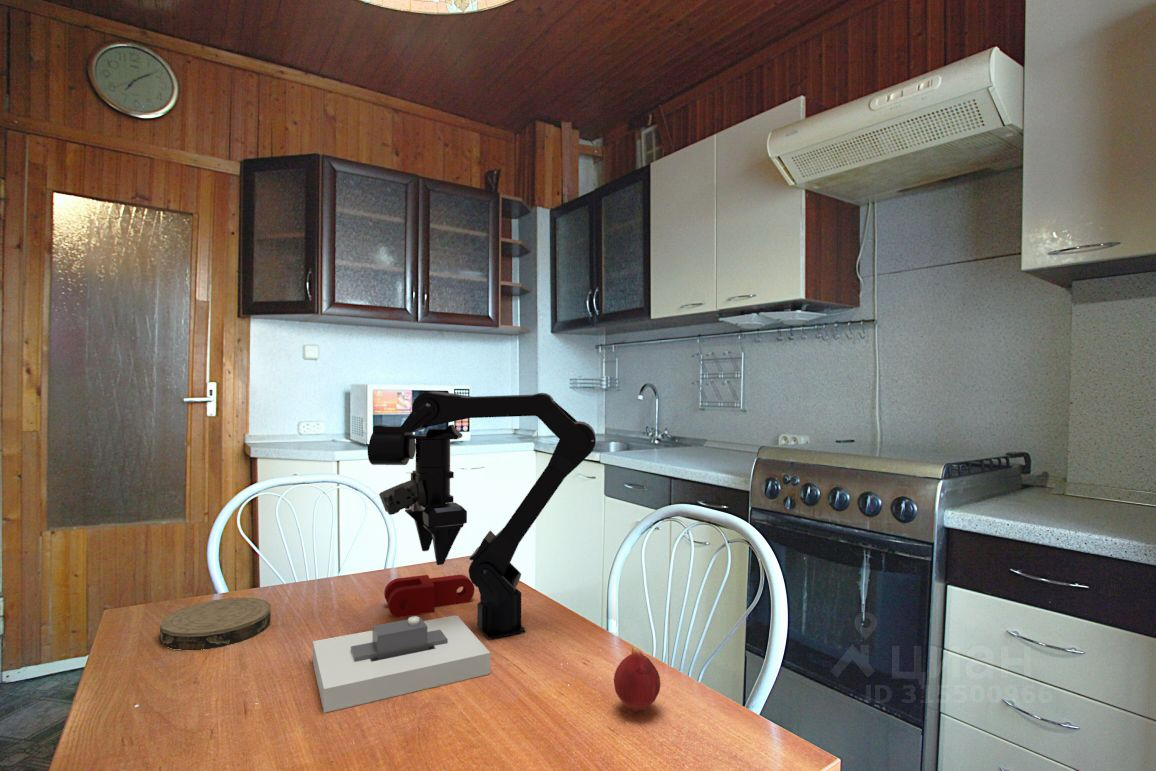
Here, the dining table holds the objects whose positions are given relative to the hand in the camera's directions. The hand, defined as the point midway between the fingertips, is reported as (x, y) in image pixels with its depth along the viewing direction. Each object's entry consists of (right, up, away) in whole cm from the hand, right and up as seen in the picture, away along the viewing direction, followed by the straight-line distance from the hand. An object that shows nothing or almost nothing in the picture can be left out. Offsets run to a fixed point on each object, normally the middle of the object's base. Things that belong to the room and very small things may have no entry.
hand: (432, 557), depth 102 cm
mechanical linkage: (-3, -13, +11) cm, 17 cm away
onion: (+32, -12, -26) cm, 43 cm away
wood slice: (-36, -12, -1) cm, 38 cm away
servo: (-1, -12, -14) cm, 19 cm away
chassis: (-1, -12, -14) cm, 19 cm away
